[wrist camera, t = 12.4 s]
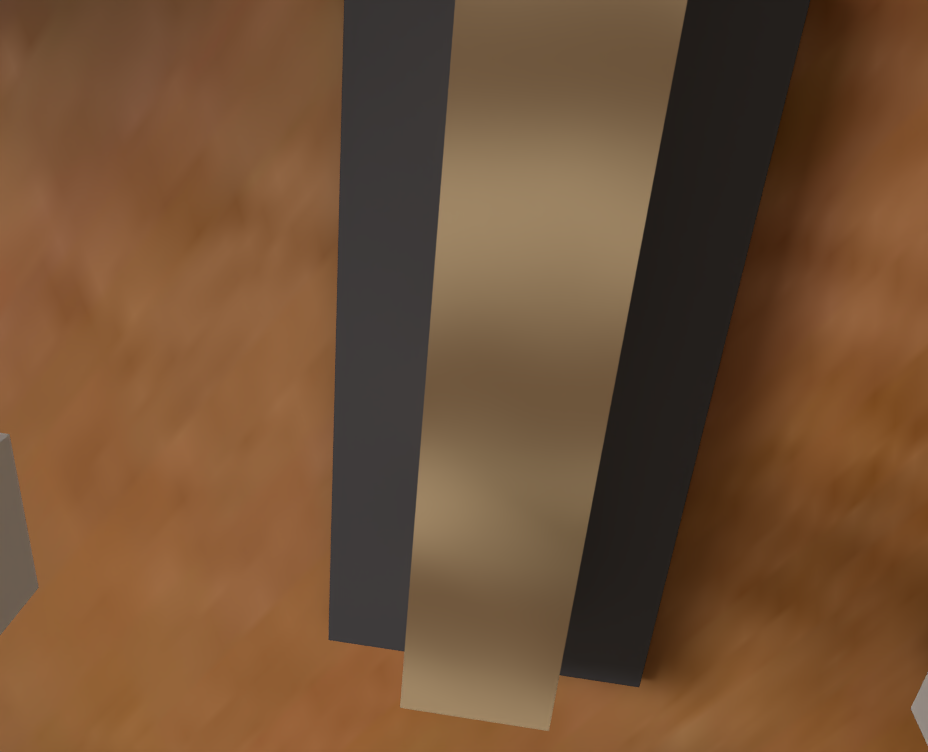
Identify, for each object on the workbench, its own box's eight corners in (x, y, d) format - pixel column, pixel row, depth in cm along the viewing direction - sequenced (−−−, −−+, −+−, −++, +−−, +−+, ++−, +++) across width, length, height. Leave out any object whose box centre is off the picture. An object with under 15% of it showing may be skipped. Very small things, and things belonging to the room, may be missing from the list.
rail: (489, -145, 17) (468, -174, 14) (685, -126, 17) (715, -151, 14) (423, 606, 26) (400, 707, 23) (551, 625, 26) (548, 731, 22)
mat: (357, -272, 17) (351, -279, 17) (859, -229, 17) (868, -236, 16) (333, 626, 28) (328, 639, 27) (637, 673, 27) (639, 687, 27)
